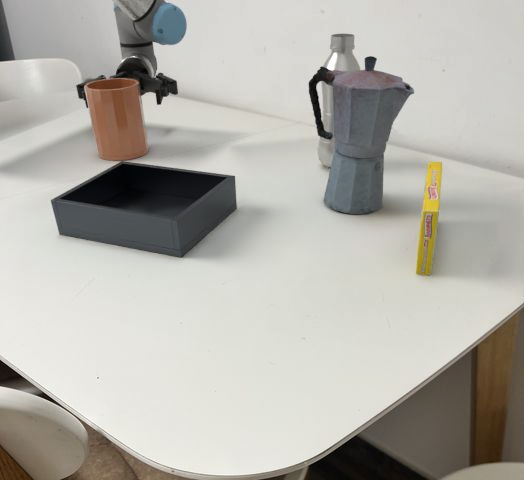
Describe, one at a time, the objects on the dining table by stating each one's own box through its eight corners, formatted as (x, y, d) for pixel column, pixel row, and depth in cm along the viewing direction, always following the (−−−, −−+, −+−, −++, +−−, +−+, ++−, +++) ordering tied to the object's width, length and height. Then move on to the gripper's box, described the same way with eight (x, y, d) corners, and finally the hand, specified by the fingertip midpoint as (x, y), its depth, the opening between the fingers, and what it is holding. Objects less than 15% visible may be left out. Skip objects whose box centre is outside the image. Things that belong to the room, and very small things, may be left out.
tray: (59, 234, 79) (50, 200, 76) (127, 192, 91) (121, 160, 88) (181, 257, 73) (176, 221, 70) (236, 208, 85) (235, 175, 82)
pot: (87, 157, 106) (73, 88, 99) (117, 142, 113) (105, 76, 105) (130, 163, 103) (118, 91, 95) (157, 147, 109) (148, 79, 102)
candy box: (419, 219, 80) (428, 160, 75) (435, 220, 80) (445, 161, 75) (412, 274, 68) (422, 208, 63) (431, 276, 67) (442, 210, 62)
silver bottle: (347, 157, 102) (355, 30, 90) (360, 170, 97) (370, 37, 84) (312, 161, 101) (315, 33, 89) (323, 174, 96) (329, 40, 83)
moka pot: (388, 224, 79) (406, 66, 67) (290, 205, 85) (290, 57, 73) (410, 200, 86) (430, 52, 74) (317, 184, 92) (321, 45, 80)
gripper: (192, 91, 129) (189, 116, 112) (82, 96, 128) (61, 122, 111) (189, 54, 125) (185, 74, 108) (74, 59, 124) (52, 80, 107)
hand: (122, 99), depth 110 cm, fingers open, 13 cm apart
